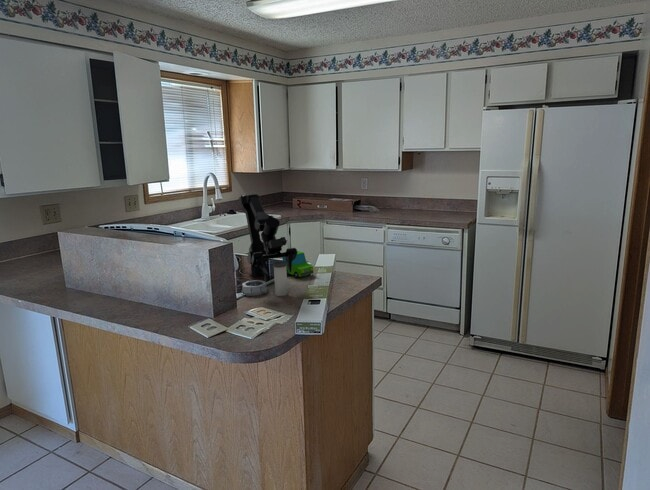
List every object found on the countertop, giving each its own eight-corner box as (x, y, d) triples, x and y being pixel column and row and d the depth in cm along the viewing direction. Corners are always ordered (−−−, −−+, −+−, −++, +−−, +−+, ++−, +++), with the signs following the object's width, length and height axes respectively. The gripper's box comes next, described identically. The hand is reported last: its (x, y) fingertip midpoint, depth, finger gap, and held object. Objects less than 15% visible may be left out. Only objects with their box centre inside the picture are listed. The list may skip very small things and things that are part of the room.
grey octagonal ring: (251, 286, 193) (251, 278, 193) (273, 289, 188) (272, 281, 188) (235, 294, 184) (235, 285, 183) (257, 297, 179) (257, 288, 178)
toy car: (298, 280, 201) (297, 258, 199) (281, 274, 211) (280, 253, 209) (316, 275, 208) (315, 254, 206) (298, 270, 217) (297, 250, 215)
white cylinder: (279, 291, 186) (277, 261, 183) (290, 292, 183) (289, 262, 181) (272, 295, 181) (270, 264, 178) (283, 296, 179) (281, 265, 176)
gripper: (251, 233, 179) (260, 266, 171) (294, 228, 186) (305, 259, 178) (247, 249, 187) (256, 280, 180) (289, 244, 195) (299, 274, 187)
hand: (279, 273), depth 181 cm, fingers open, 9 cm apart
